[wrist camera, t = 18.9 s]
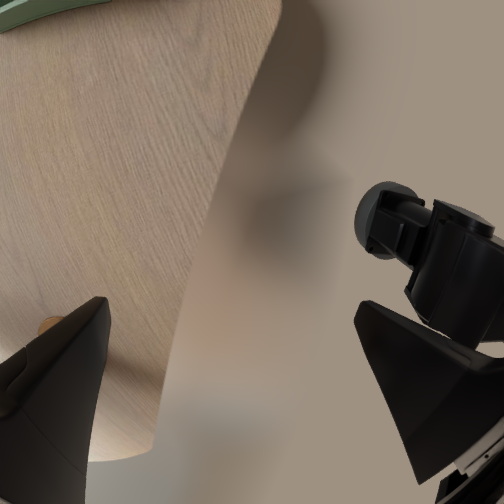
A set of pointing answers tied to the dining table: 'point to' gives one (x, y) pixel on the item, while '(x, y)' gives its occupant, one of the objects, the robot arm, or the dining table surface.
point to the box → (34, 10)
